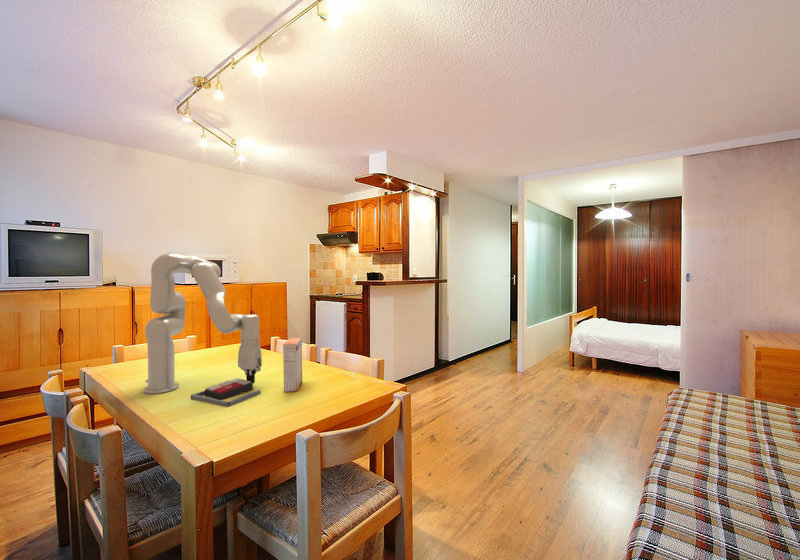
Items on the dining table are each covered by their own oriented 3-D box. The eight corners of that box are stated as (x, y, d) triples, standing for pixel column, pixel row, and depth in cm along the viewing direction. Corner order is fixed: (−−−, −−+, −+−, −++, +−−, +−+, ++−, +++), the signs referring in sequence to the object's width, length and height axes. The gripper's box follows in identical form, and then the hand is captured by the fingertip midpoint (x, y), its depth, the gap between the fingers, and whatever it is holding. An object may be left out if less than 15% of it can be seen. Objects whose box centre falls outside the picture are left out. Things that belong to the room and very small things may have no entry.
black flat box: (204, 387, 142) (237, 376, 155) (204, 397, 143) (237, 385, 156) (219, 392, 137) (252, 380, 150) (220, 402, 137) (253, 390, 150)
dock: (190, 398, 139) (190, 395, 139) (225, 387, 154) (225, 383, 154) (227, 406, 130) (227, 403, 130) (260, 393, 145) (260, 390, 145)
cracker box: (289, 382, 161) (289, 337, 160) (302, 382, 161) (302, 337, 161) (282, 392, 147) (282, 343, 146) (297, 392, 147) (297, 343, 147)
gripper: (230, 342, 152) (231, 384, 153) (256, 345, 147) (256, 388, 147) (244, 339, 159) (245, 379, 160) (269, 342, 153) (269, 383, 154)
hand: (250, 383), depth 153 cm, fingers closed
